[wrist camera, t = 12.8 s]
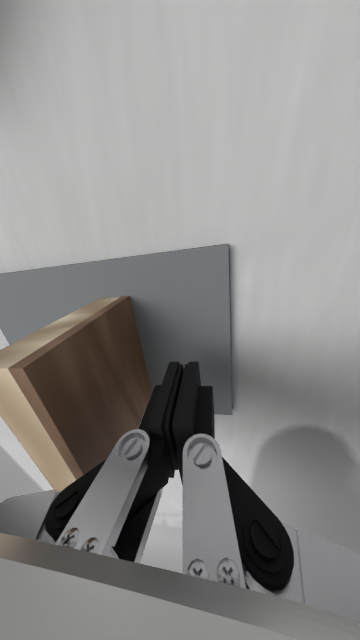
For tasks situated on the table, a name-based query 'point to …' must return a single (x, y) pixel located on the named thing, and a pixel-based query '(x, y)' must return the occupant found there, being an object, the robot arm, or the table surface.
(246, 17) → the table surface
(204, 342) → the mat
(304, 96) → the table surface
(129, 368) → the tile
